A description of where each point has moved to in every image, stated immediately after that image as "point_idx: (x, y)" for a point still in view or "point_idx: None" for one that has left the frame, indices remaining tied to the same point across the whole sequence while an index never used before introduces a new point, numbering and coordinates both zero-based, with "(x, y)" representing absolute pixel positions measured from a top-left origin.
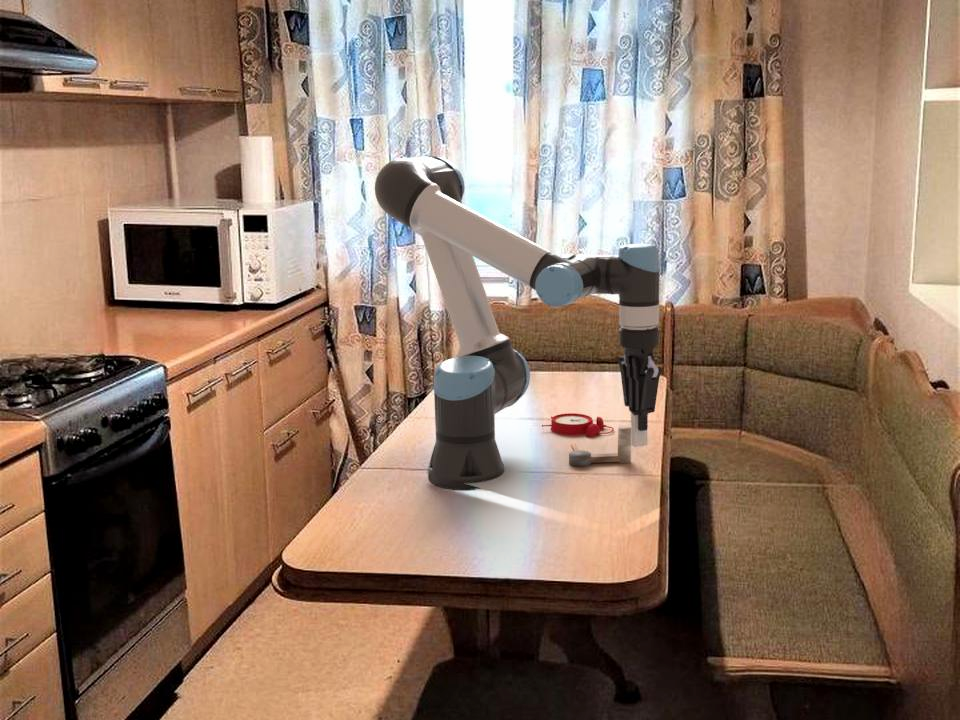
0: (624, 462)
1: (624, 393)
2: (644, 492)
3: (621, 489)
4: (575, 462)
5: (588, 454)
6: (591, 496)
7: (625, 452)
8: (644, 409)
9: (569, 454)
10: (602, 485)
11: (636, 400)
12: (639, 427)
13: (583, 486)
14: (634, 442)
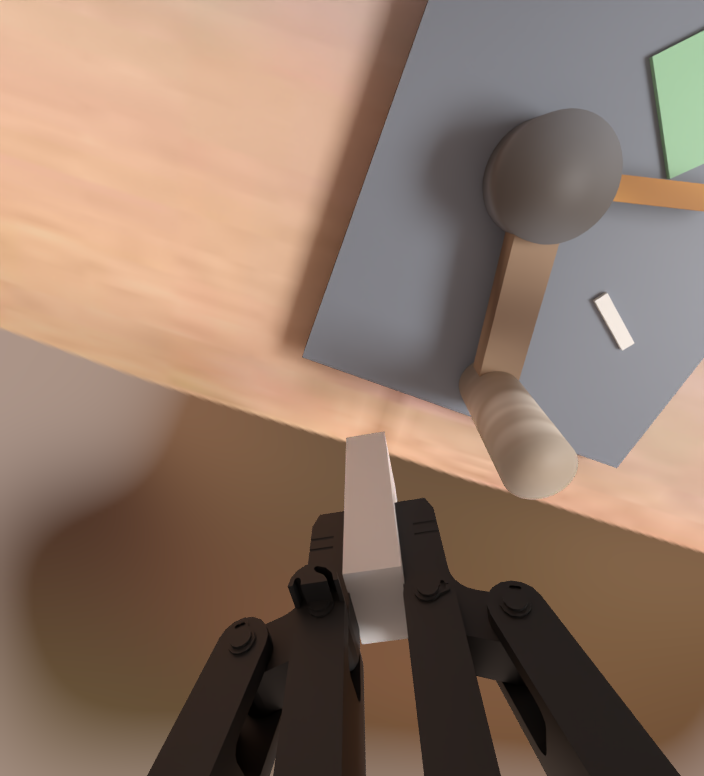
0: (462, 378)
1: (582, 693)
2: (205, 359)
3: (247, 288)
4: (506, 138)
5: (526, 225)
6: (174, 130)
7: (470, 401)
8: (209, 664)
9: (573, 109)
10: (306, 225)
11: (324, 702)
12: (333, 526)
13: (309, 131)
14: (353, 448)
